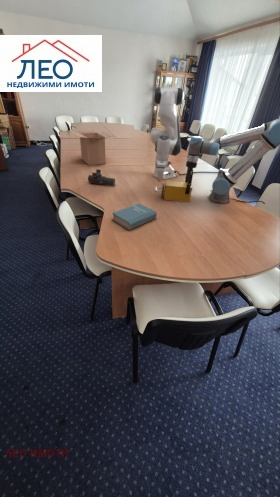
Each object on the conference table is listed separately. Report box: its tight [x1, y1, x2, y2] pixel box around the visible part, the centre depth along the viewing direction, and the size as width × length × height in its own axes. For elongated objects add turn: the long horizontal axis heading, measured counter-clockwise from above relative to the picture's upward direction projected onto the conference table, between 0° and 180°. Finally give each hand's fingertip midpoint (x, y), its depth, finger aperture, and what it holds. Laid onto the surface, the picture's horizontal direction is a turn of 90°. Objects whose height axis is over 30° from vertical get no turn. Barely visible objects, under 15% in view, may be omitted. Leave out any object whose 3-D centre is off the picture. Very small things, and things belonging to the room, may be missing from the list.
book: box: [112, 202, 158, 231], centre depth 138 cm, size 23×16×5 cm
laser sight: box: [87, 168, 116, 186], centre depth 182 cm, size 10×22×10 cm, turn 78°
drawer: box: [154, 181, 165, 199], centre depth 168 cm, size 24×10×9 cm, turn 86°
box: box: [70, 129, 114, 166], centre depth 229 cm, size 44×36×27 cm
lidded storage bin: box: [163, 180, 193, 203], centre depth 168 cm, size 19×11×11 cm, turn 86°
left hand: (159, 180), depth 164 cm, fingers closed
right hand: (186, 191), depth 168 cm, fingers closed on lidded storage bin, 11 cm apart
